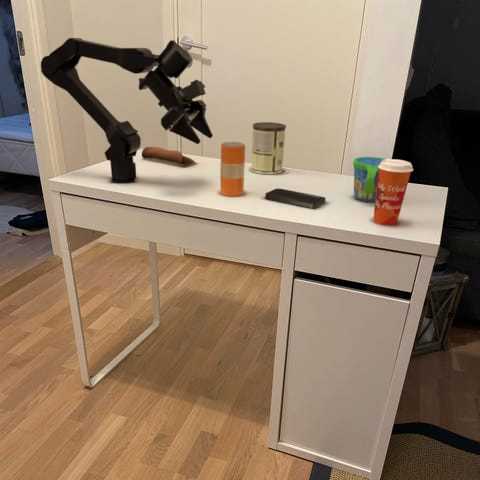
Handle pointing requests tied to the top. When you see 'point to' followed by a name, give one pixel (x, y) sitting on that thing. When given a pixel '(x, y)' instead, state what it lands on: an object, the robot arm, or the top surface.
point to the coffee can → (268, 147)
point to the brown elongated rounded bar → (167, 155)
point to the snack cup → (366, 177)
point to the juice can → (232, 168)
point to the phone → (295, 198)
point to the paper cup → (391, 190)
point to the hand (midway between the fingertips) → (205, 140)
